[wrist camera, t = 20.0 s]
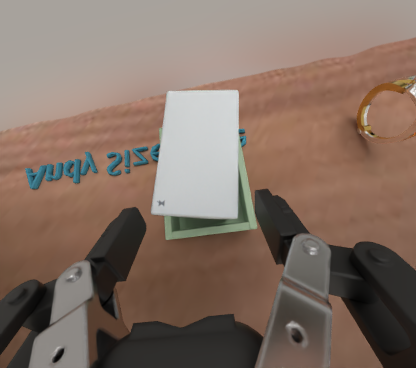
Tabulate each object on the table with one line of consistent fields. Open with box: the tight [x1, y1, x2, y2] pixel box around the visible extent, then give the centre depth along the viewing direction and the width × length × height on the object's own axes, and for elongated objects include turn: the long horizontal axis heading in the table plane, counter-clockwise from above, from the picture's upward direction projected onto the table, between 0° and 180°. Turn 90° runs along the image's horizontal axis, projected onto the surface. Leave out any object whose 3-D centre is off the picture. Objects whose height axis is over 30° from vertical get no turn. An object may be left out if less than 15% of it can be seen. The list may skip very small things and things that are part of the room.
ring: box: [357, 76, 416, 144], centre depth 18 cm, size 7×3×8 cm, turn 9°
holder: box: [159, 128, 257, 240], centre depth 20 cm, size 10×14×4 cm
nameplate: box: [25, 129, 246, 189], centre depth 24 cm, size 37×1×5 cm
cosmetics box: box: [151, 90, 239, 219], centre depth 16 cm, size 10×6×10 cm, turn 177°
